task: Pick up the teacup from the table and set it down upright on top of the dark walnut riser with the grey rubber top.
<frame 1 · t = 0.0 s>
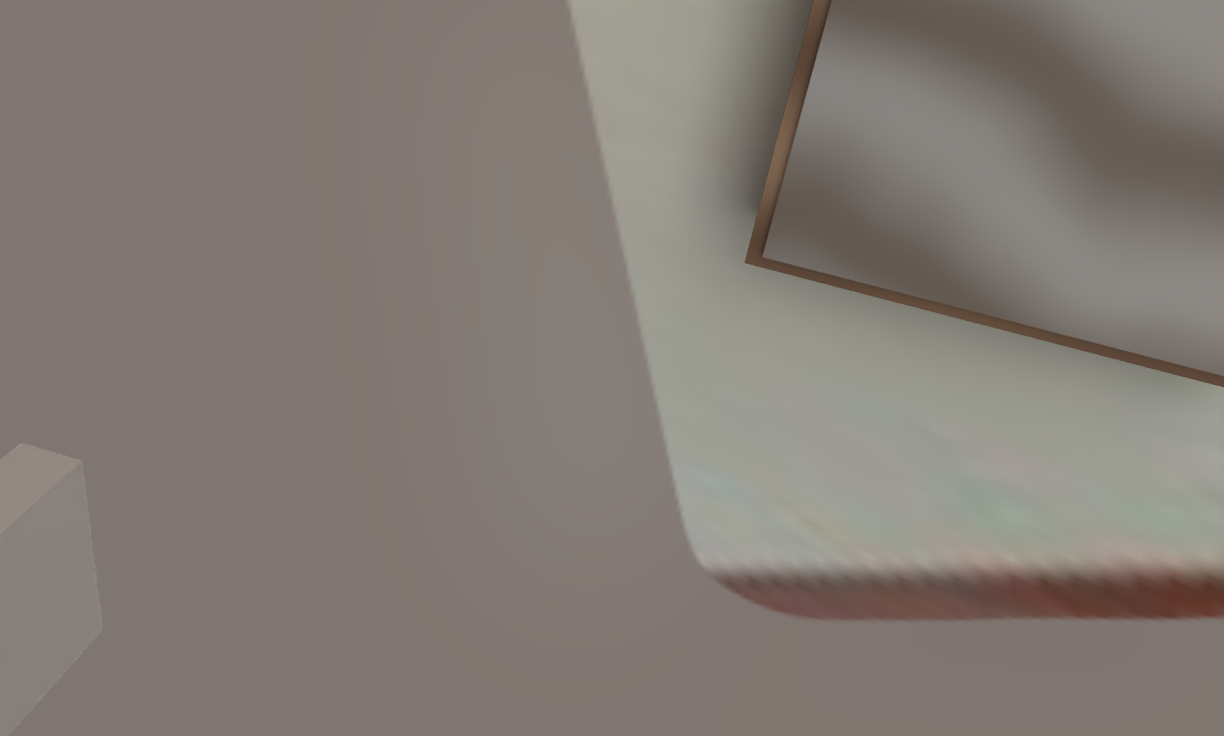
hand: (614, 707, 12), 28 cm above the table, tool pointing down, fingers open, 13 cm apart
walnut riser: (1083, 65, 34), on the table
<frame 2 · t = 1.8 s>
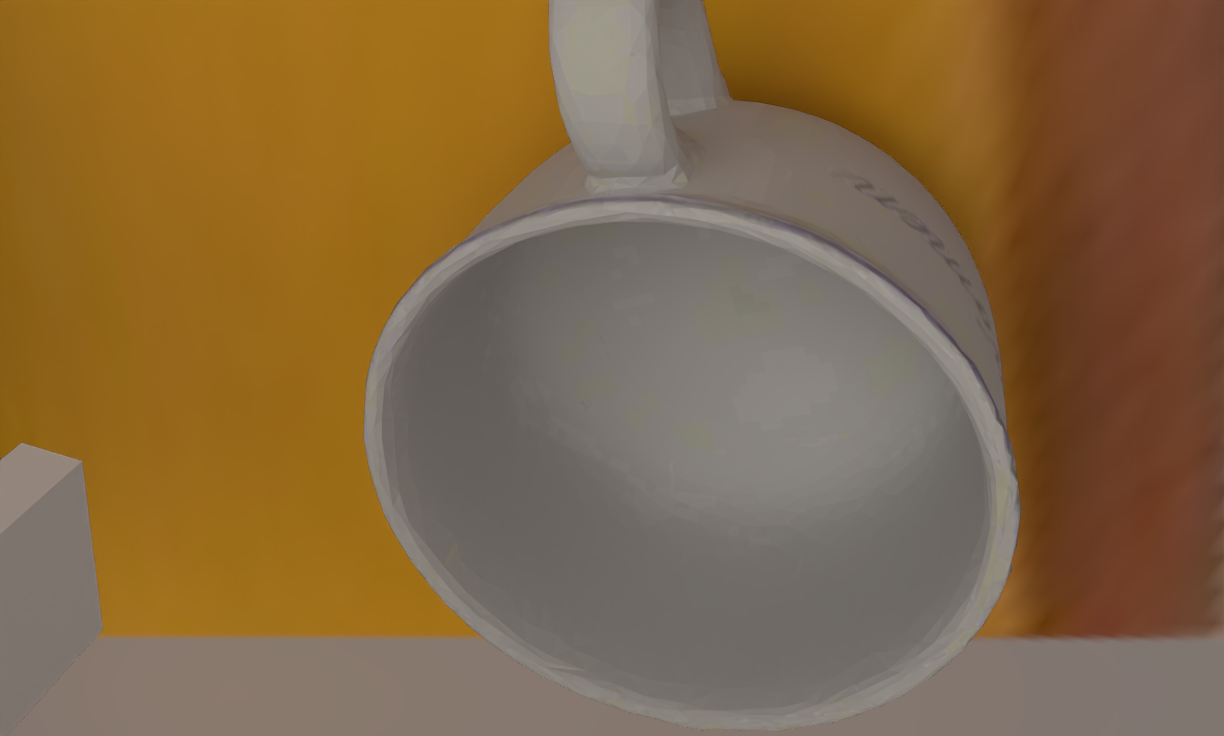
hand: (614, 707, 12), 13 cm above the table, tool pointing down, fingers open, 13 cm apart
teacup: (735, 223, 24), on the table
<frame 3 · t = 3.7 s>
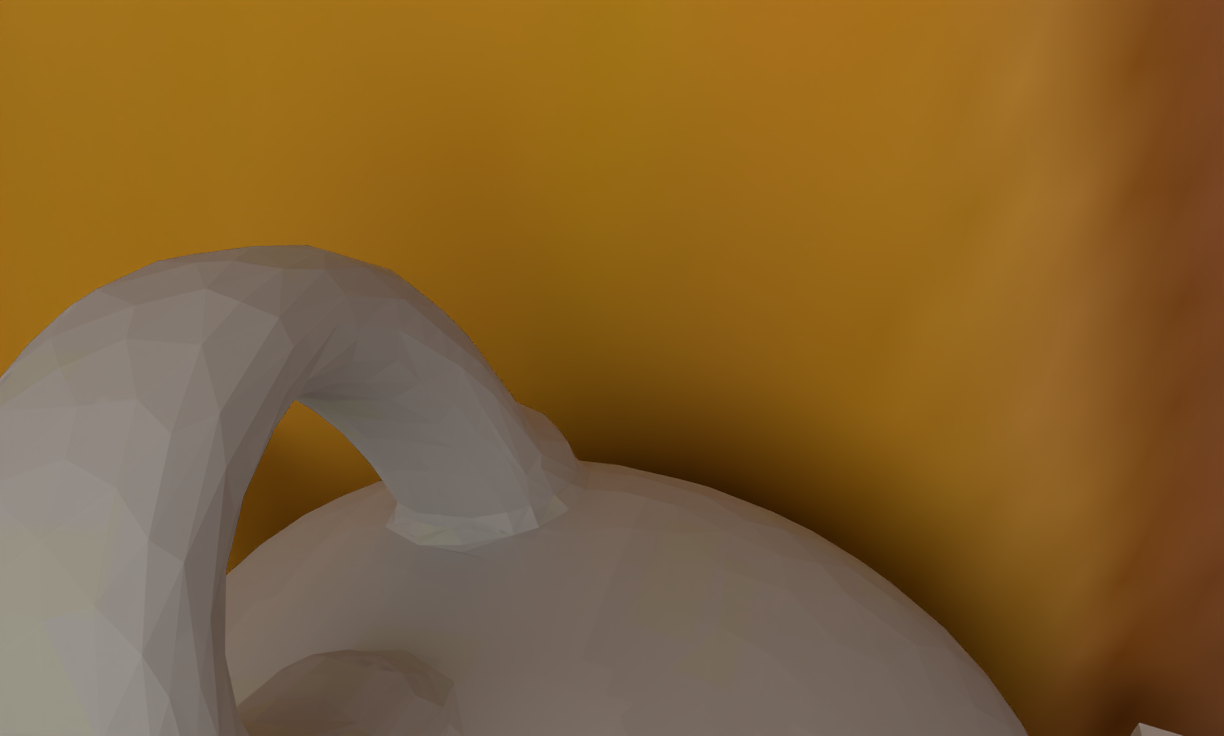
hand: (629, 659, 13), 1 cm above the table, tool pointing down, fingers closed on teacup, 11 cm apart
teacup: (632, 580, 14), on the table, touching gripper
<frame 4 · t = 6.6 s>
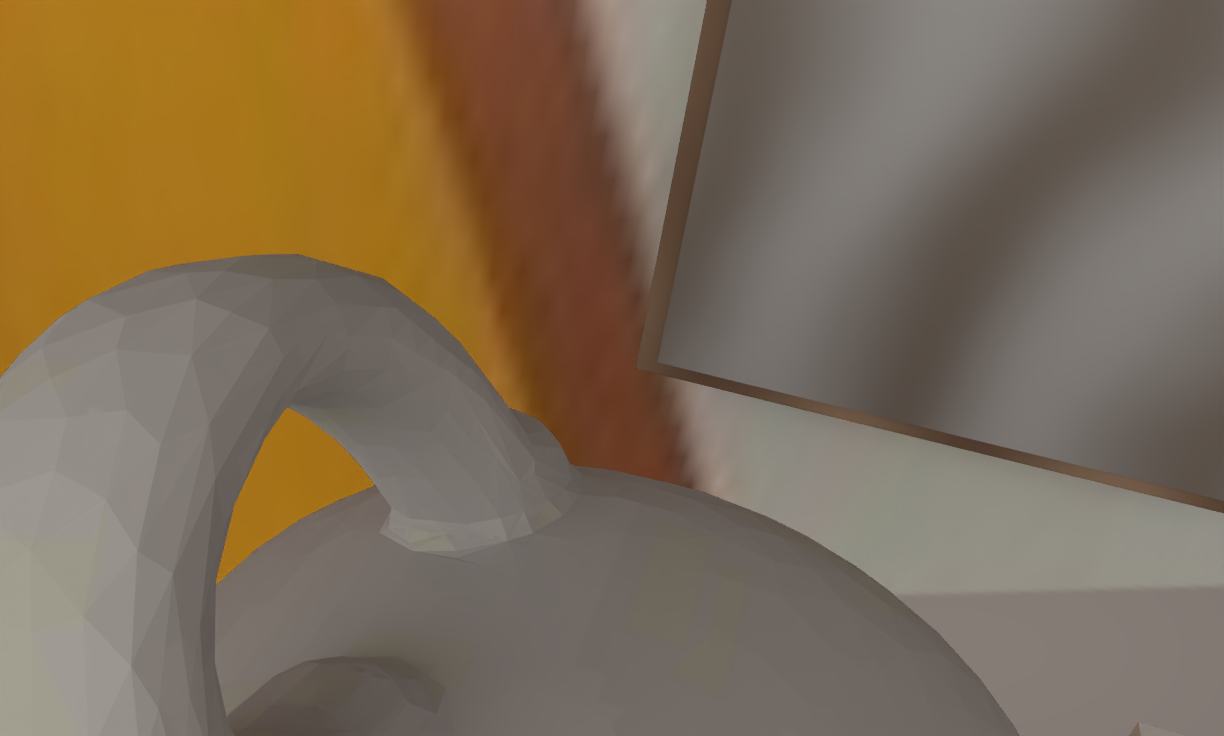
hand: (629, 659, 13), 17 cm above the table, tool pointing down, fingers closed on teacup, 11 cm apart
teacup: (628, 584, 14), point 16 cm above the table, touching gripper
walnut riser: (1060, 39, 24), on the table
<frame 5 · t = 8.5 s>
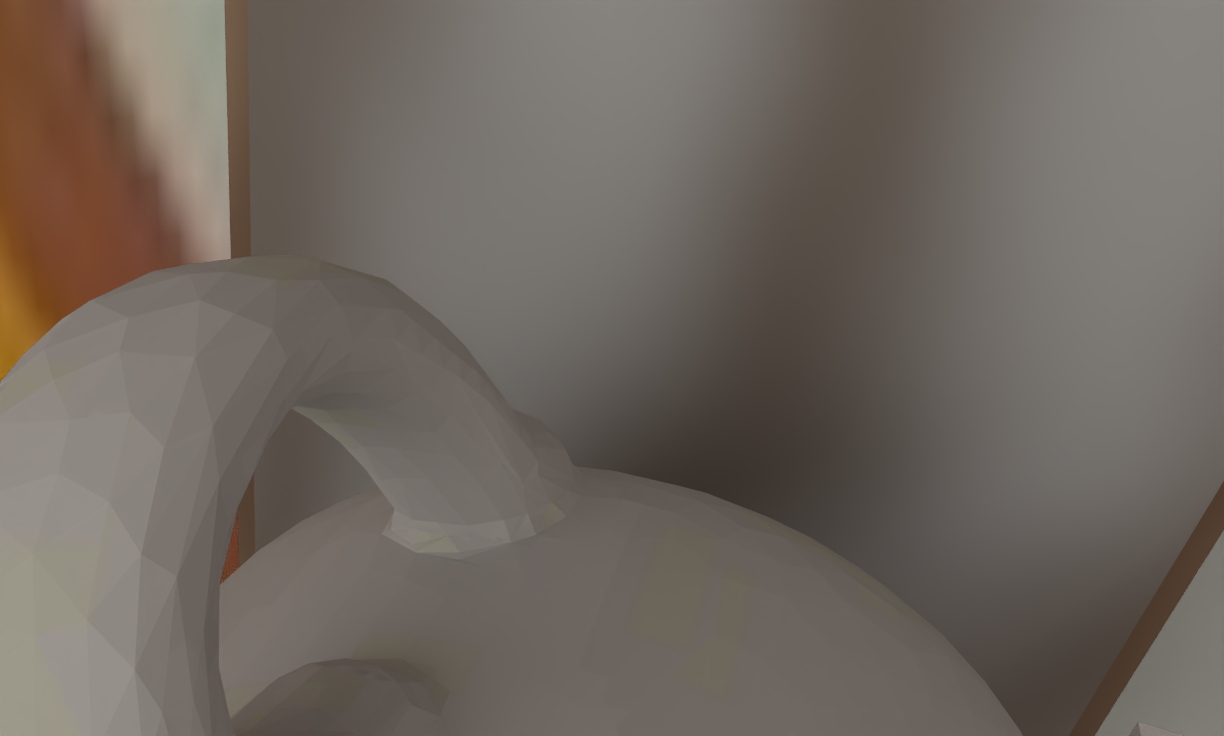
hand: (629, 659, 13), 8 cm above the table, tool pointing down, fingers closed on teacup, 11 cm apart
teacup: (630, 585, 14), point 7 cm above the table, touching gripper
walnut riser: (724, 325, 20), on the table
when the fingers open (7 cm above the table, at t = 9.8 s): teacup drops 2 cm, resting on walnut riser.
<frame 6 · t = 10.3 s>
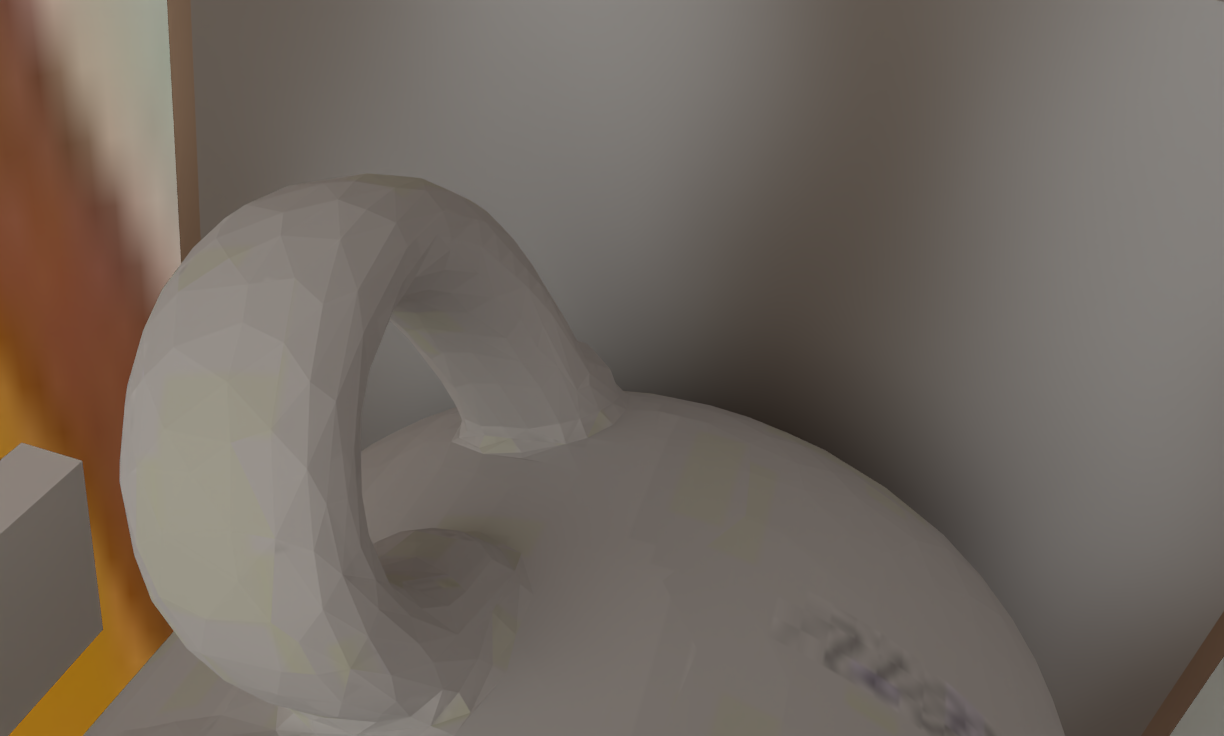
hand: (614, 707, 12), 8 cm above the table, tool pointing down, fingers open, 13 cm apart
teacup: (661, 515, 15), point 4 cm above the table, touching walnut riser
walnut riser: (718, 366, 19), on the table
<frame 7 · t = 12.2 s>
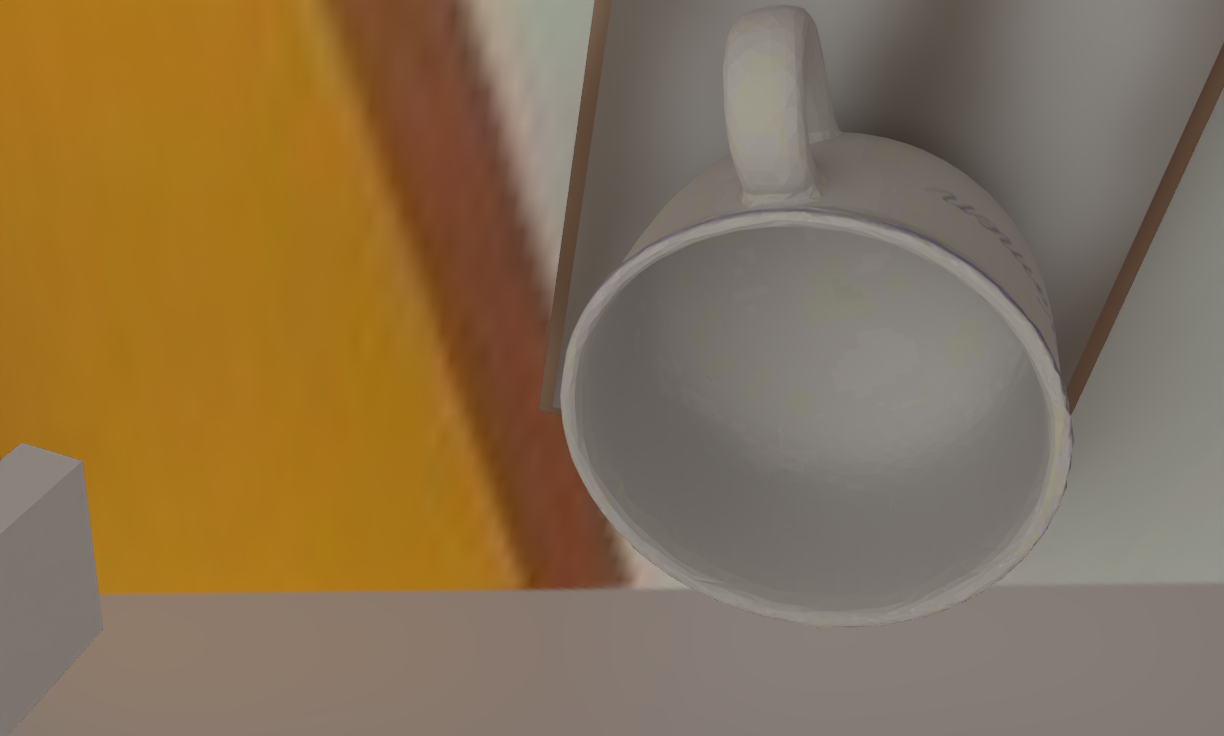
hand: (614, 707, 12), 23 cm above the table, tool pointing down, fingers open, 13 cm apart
teacup: (833, 228, 29), point 4 cm above the table, touching walnut riser
walnut riser: (850, 172, 32), on the table
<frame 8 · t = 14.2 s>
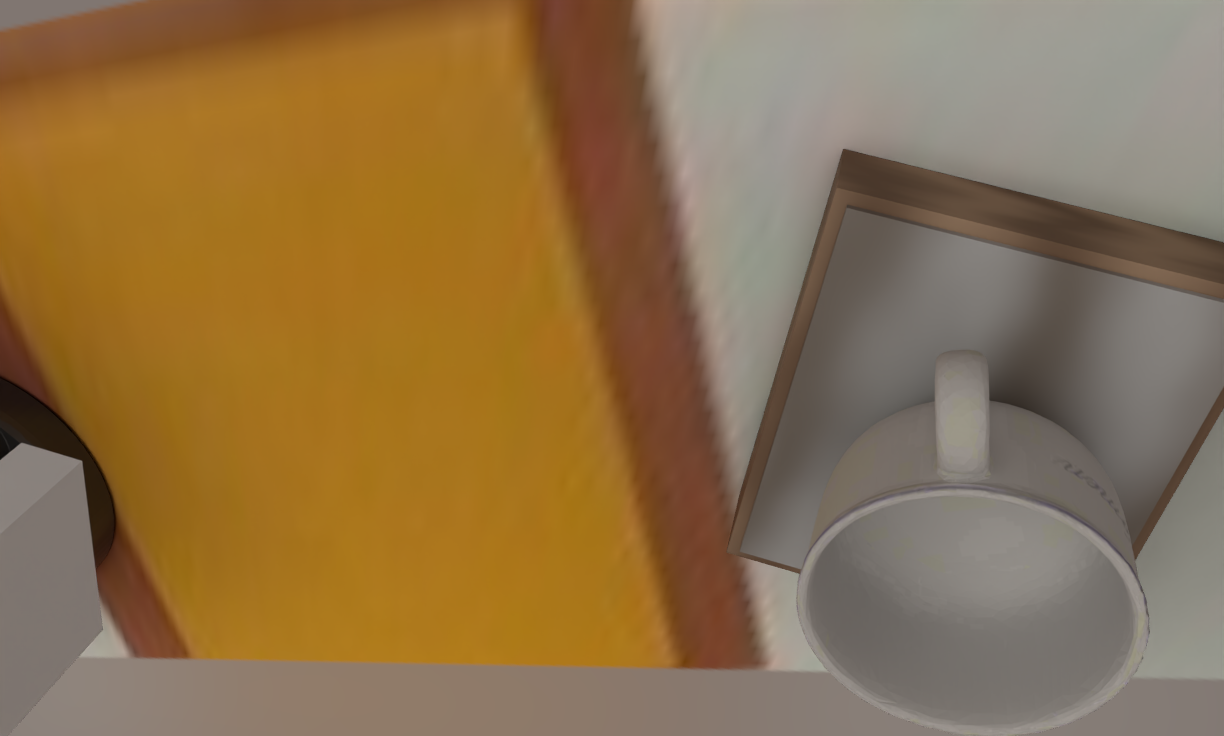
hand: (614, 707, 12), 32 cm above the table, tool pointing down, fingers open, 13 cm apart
teacup: (964, 445, 41), point 4 cm above the table, touching walnut riser
walnut riser: (965, 388, 44), on the table
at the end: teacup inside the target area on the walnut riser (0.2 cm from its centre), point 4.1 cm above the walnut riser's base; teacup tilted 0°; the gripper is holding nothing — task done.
